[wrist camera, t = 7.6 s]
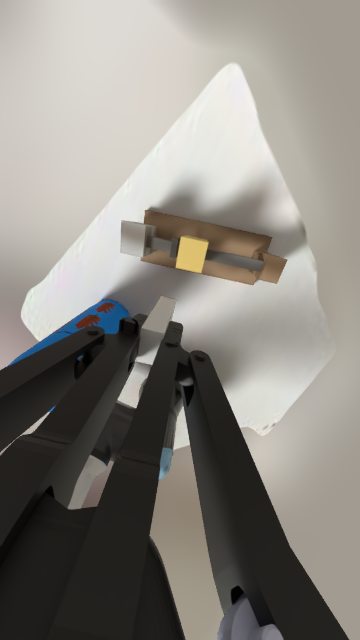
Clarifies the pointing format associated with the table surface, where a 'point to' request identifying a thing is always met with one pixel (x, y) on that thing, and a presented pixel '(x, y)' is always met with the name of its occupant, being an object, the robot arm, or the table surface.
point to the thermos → (85, 324)
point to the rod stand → (222, 252)
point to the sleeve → (191, 253)
